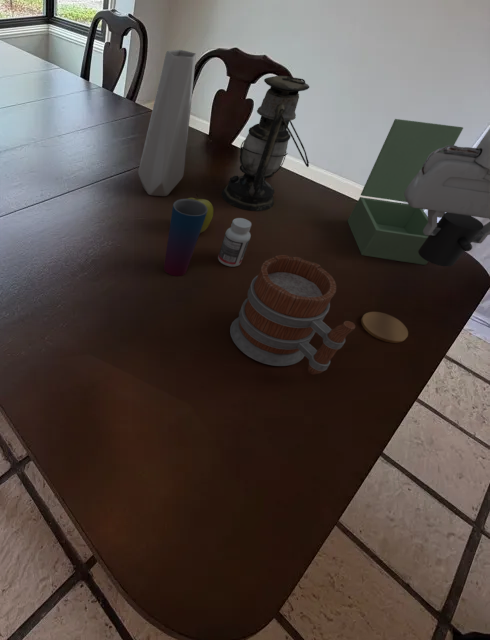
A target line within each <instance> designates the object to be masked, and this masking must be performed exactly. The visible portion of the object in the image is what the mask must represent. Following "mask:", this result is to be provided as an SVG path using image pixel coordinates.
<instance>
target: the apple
mask: <svg viewBox="0 0 490 640" xmlns="http://www.w3.org/2000/svg"><path fill="white" fill-rule="evenodd" d="M195 194H196V198H194V197H188V198H187V199H193V200H197V201H199V202H201V203H203V204H204V205H206V207H207V209H208V211H207V214H206V217H205V220H204V223H203V225H202V228H201V231H200V234H201V233H203V232H205V231H206V230H207V229H208V227H209V226H210V224H211V222H212V219H213V217H214V206H213V204H212V203H211V202H210V201H209V200H208V199H205V198H199V197H198V193H195Z"/></svg>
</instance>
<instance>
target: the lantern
mask: <svg viewBox="0 0 490 640" xmlns="http://www.w3.org/2000/svg"><path fill="white" fill-rule="evenodd" d="M263 82H264V83H265V84H266V85H267V86H269V88H268V89H267V91H266V92H265V95H264V98H263V99H262V102H261V104H260V106H259V107H258V108H257V110H256V112H257V115H259V116H260V119H259V123H255V124H253V126H251V127H249V129H248V133H247V136H246V137H245V139H244V140H243V141H242V142H241V144H240V149H239V150H240V151H239V153H240V154H239V163H240V166H239V170H240V171H241V173H243V175H240V176H239V175H233V176H231V177H230V178H229V180H228V183H227V185H226V186H225V187H224V188H223V189H222V190H221V193H220V195H221V198H222V199H223V201H225V202H226V203H227V204H229V205H231V206H233V207H235V208H238V209H240V210H245V211H249V212H250V211H251V212H262V211H267V210H270V209H271V208H272V207H273V206H274V205H275V202H274V199H275V198H274V197H275V196H274V194H275V188H274V187H273V186H272V185H271V184H270V183H269V182H268V181H267V180H266V179H269V178H272V177H273V176H275V174H276V173H278V171H279V170H280V169H281V168H282V167H283V164H284V162H285V160H286V156H287V155H288V152H287V150H288V143H289V141H290V139H292V140H293V143H294V145H295V146H296V149H297V150H298V153H299V155H300V157H301V159H302V161H303V163H304V165H305V166H306V167H307V168H308V167H310V164H309V163H310V162H309V159H308V155H307V151H306V149H305V147H304V143H303V142H302V140H301V138H300V137H299V136H300V135H298V133H297V130H296V128H295V127H294V124H293V123H292V121H293V120H296V116H297V115H296V109H297V106H298V102H299V99H300V94H299V92H303V91H307V90H308V89H310V85H309V84H308V83H306V80H305V79H303V78H300V77H294V76H289V75H288V76H287V75H275V76H270V77H266V78H264V79H263ZM288 122H289V124H290V126H291V127H292V129H293V132H294V133H295V135H296V138H297V140H298V141H299V144H300V146H301V148H302V150H303V153H304V155H303V153H302V151H301V149H300V147H299V145H298V143H297V140H296V139H295V137H294V135H293V133H292V131H291V130H290V128H289V126H288Z"/></svg>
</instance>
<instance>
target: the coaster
mask: <svg viewBox="0 0 490 640" xmlns="http://www.w3.org/2000/svg"><path fill="white" fill-rule="evenodd" d="M360 324H361V326H362V328H363V329H364V330H365V331H366V333H368V334H369V335H371V336H372V337H373V338H375V339H377V340H380V341H382V342H385V343H391V344H399V343H402V342H404V341H406V340H407V338H408V337H409V331H408V328H407V327H406V325H405V324H404V323H403V322H402V321H401V320H400V319H398V318H396V317H395V316H393V315H390V314H388V313H385V312H380V311H369V312H366V313H364V314H363V315H362V317H361V319H360Z"/></svg>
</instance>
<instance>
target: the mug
mask: <svg viewBox="0 0 490 640" xmlns="http://www.w3.org/2000/svg"><path fill="white" fill-rule="evenodd" d="M336 292H337V284H336V281H335V278H334V277H333V275H331V274H330V273H329V272H328V271H327V270H325V269H324V268H323V267H321V265H320V264H319V263H316V262H312V261H309V260H305V259H302V258H301V257H299V256H288V254H280V255H279V254H278V255H275V256H274V257H272V258H269V259H267V260H265V261H264V262H263V263H262V265H261V268H260V270H259V273H258V275H256V276H255V277H254V278H253V279H252V280H251V283H250V285H249V288H248V290H247V298H246V299H245V300H243V303H242V304H241V308H240V310H239V312H238V317H236V318H235V319H234V320H233V321H232V322H231V324H230V330H229V332H230V333H229V334H230V337H231V340H232V342H233V343H234V344H235V346H236V347H237V348H238V349H239V351H241V352H242V353H243V354H244V355H246V356H247V357H248V358H250V359H252V360H254V361H256V362H258V363H261V364H264V365H267V366H274V367H286V366H292V365H295V364H298V363H300V361H302V360H303V359H304V357H305V358H307V359H308V365H307V373H308V374H309V375H312V376H316V375H319V374H321V373H323V372H324V371H327V370H328V368H329V366H330V365H331V360H332V358H333V357H334V356H335V354H336V353H337V351H338V350H340V349H342V348H343V346H344V344H345V343H346V337H347V336H348V335H349V334H350V333H352V331H354V330H355V328H356V325H355V323H354V322H352V321H349V320H345V321H344V322H343V324H339V325H336V327H335V328H331V327H330V326H328V324H326V323H325V322H324V319H325V317H326V316H327V314H328V313H329V311H330V307H331V300H332V299H333V297H334V296H335V294H336ZM315 334H317V335H318V336H320V337H321V338H322V343H321V345H320V347H319V348H318V349H316V348H315V347H314V346H313V344H311V343H310V342H311V340H312V339H313V338H314V335H315Z"/></svg>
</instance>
